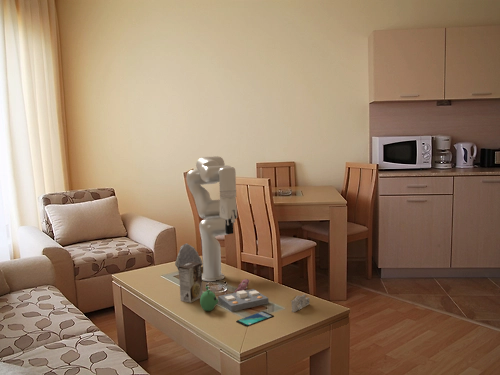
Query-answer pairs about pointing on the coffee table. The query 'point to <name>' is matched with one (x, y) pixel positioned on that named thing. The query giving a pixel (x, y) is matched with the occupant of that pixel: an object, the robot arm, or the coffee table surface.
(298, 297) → the garden wall model
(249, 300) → the button board
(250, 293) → the button
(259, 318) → the smartphone
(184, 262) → the decorative rock
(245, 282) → the pink curved piece
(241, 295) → the button middle
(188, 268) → the coffee box
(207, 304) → the alien toy
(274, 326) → the coffee table surface
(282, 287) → the coffee table surface
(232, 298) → the button
